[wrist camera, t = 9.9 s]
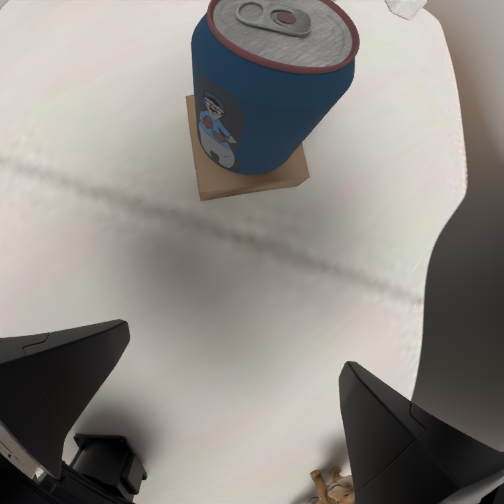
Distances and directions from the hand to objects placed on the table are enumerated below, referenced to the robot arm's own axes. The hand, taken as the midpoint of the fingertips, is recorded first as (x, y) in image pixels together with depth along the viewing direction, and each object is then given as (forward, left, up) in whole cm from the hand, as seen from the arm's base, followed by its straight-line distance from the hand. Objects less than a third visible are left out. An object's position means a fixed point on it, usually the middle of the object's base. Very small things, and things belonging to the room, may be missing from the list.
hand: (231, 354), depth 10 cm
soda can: (+4, +12, -9) cm, 15 cm away
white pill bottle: (+33, +37, -12) cm, 51 cm away
